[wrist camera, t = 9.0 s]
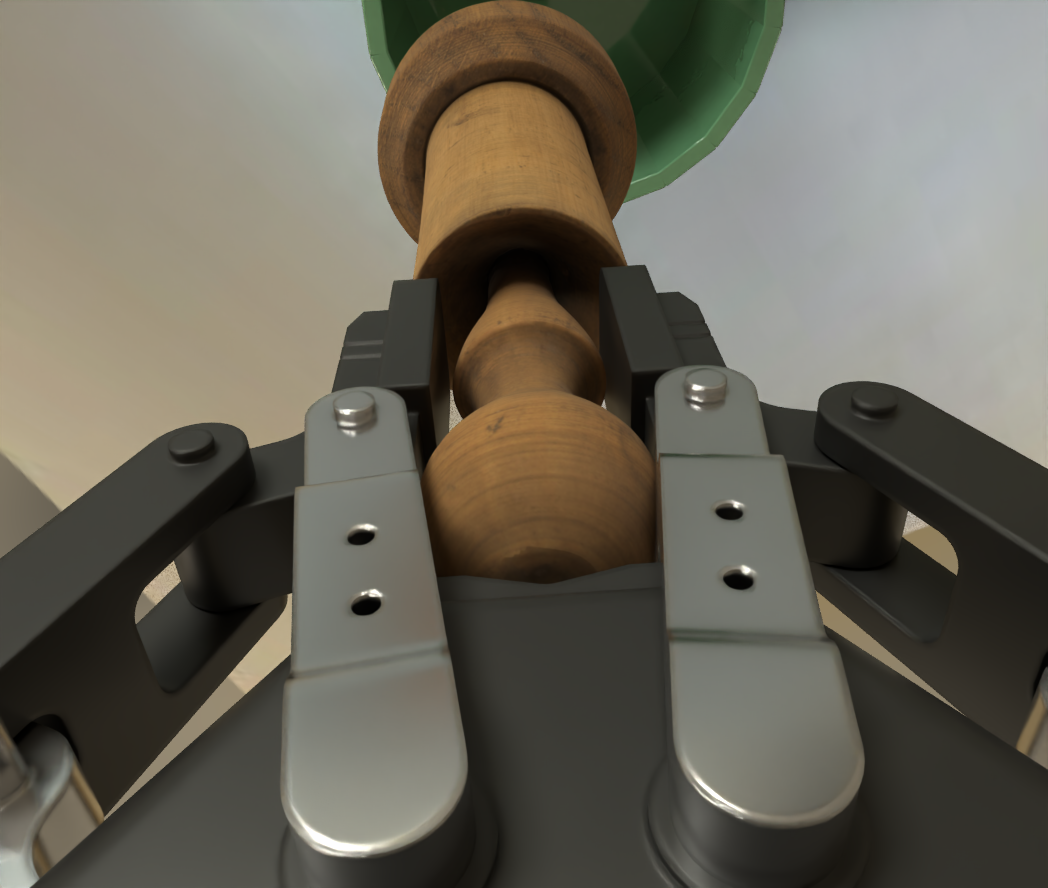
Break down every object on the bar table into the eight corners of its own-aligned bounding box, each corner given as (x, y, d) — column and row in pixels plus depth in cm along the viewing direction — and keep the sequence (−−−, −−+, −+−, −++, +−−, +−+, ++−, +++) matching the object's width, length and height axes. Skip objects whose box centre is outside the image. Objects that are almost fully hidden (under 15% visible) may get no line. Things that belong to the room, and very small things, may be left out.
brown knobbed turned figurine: (554, 283, 28) (645, 835, 13) (347, 190, 26) (166, 706, 11) (672, 71, 24) (982, 475, 9) (445, -53, 22) (380, 204, 8)
